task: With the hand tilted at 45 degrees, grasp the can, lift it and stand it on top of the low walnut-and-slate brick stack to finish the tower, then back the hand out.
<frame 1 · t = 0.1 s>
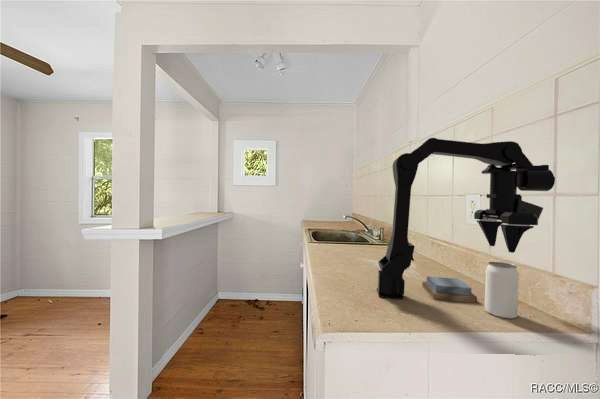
hand: (501, 249, 73), 15 cm above the counter, tool pointing down, fingers open, 9 cm apart
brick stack: (447, 293, 80), on the counter
can: (500, 314, 66), on the counter
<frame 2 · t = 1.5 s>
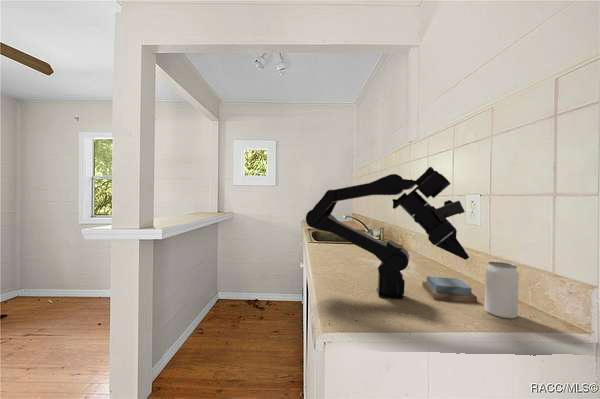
hand: (465, 255, 70), 13 cm above the counter, tool tilted 45°, fingers open, 9 cm apart
nothing on the counter moved.
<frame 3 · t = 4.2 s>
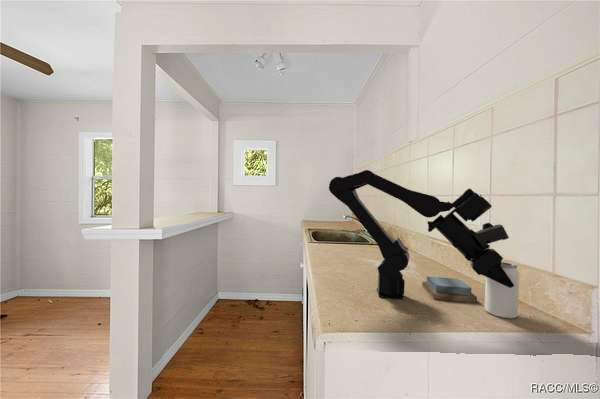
hand: (508, 283, 66), 8 cm above the counter, tool tilted 45°, fingers closed on can, 6 cm apart
can: (500, 314, 66), on the counter, touching gripper
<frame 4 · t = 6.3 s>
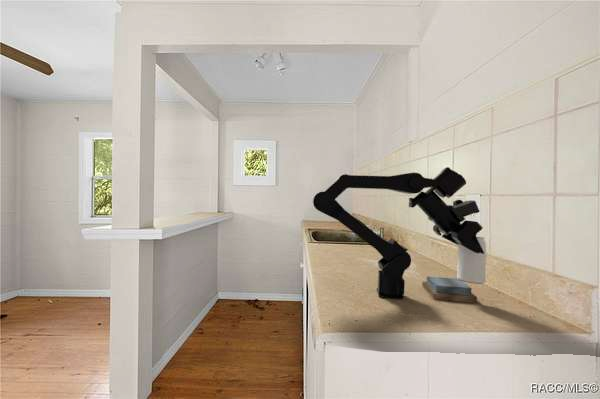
hand: (476, 251, 74), 13 cm above the counter, tool tilted 45°, fingers closed on can, 6 cm apart
can: (470, 281, 74), point 5 cm above the counter, touching gripper
when the fingers open (12 cm above the counter, at t = 8.0 s): can stays where it is, resting on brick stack.
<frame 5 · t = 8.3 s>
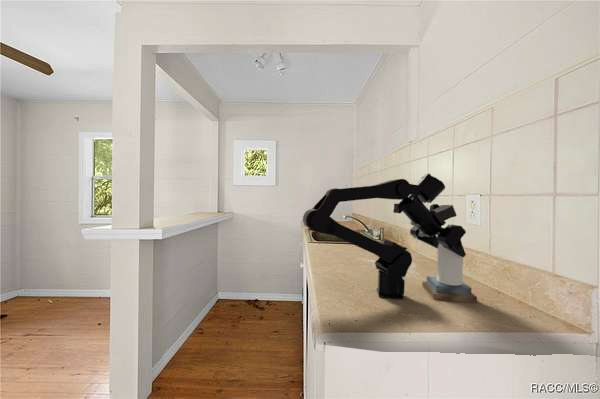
hand: (453, 252, 80), 12 cm above the counter, tool tilted 45°, fingers open, 9 cm apart
can: (449, 283, 78), point 3 cm above the counter, touching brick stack
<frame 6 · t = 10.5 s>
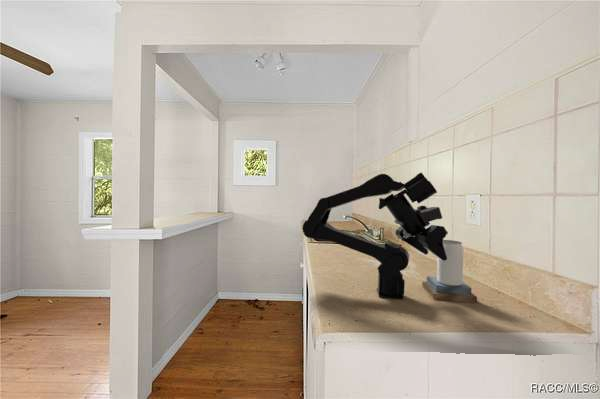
hand: (435, 256, 77), 11 cm above the counter, tool tilted 40°, fingers open, 9 cm apart
nothing on the counter moved.
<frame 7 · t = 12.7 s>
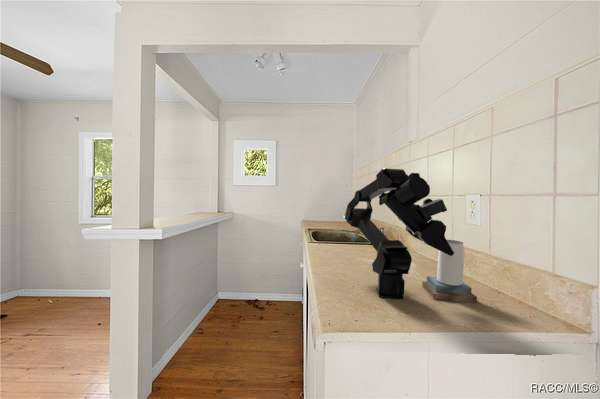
hand: (446, 251, 73), 14 cm above the counter, tool tilted 45°, fingers open, 9 cm apart
can: (449, 283, 78), point 3 cm above the counter, touching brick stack, gripper
at the end: can 1.2 cm off-centre on the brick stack, point 3.4 cm above the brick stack's base; can tilted 2°; the gripper is holding nothing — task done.
